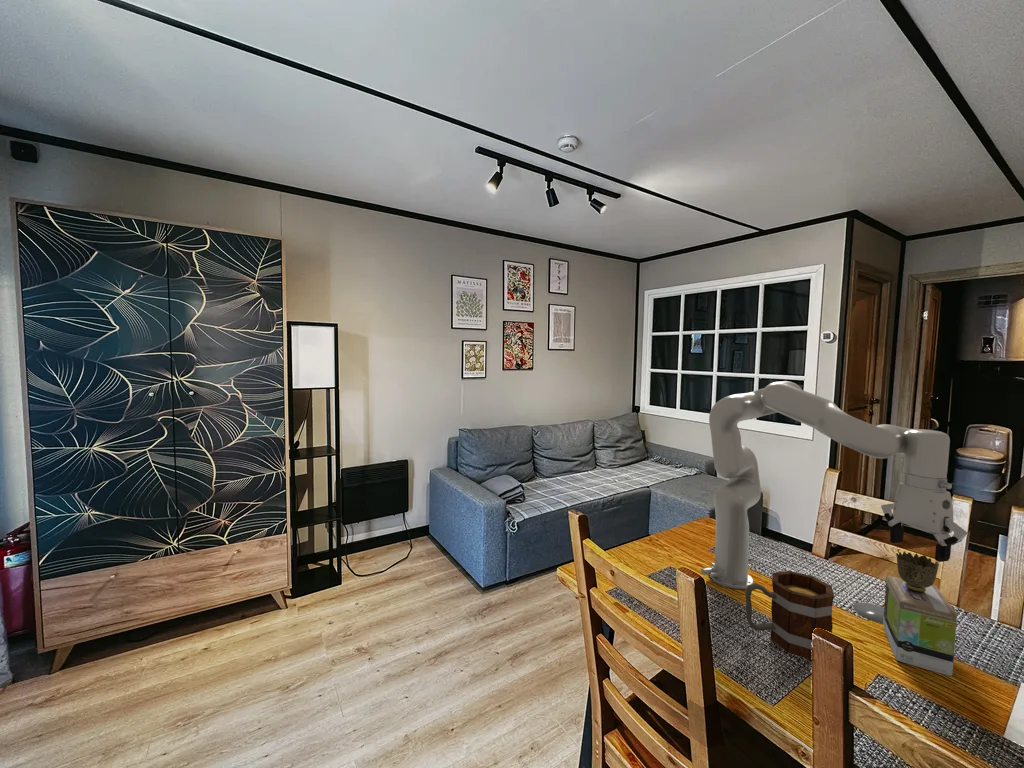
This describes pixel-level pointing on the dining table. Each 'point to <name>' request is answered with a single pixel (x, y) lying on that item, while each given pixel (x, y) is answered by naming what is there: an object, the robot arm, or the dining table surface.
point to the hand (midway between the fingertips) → (918, 551)
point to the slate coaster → (870, 611)
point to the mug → (795, 610)
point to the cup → (916, 571)
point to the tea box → (920, 626)
